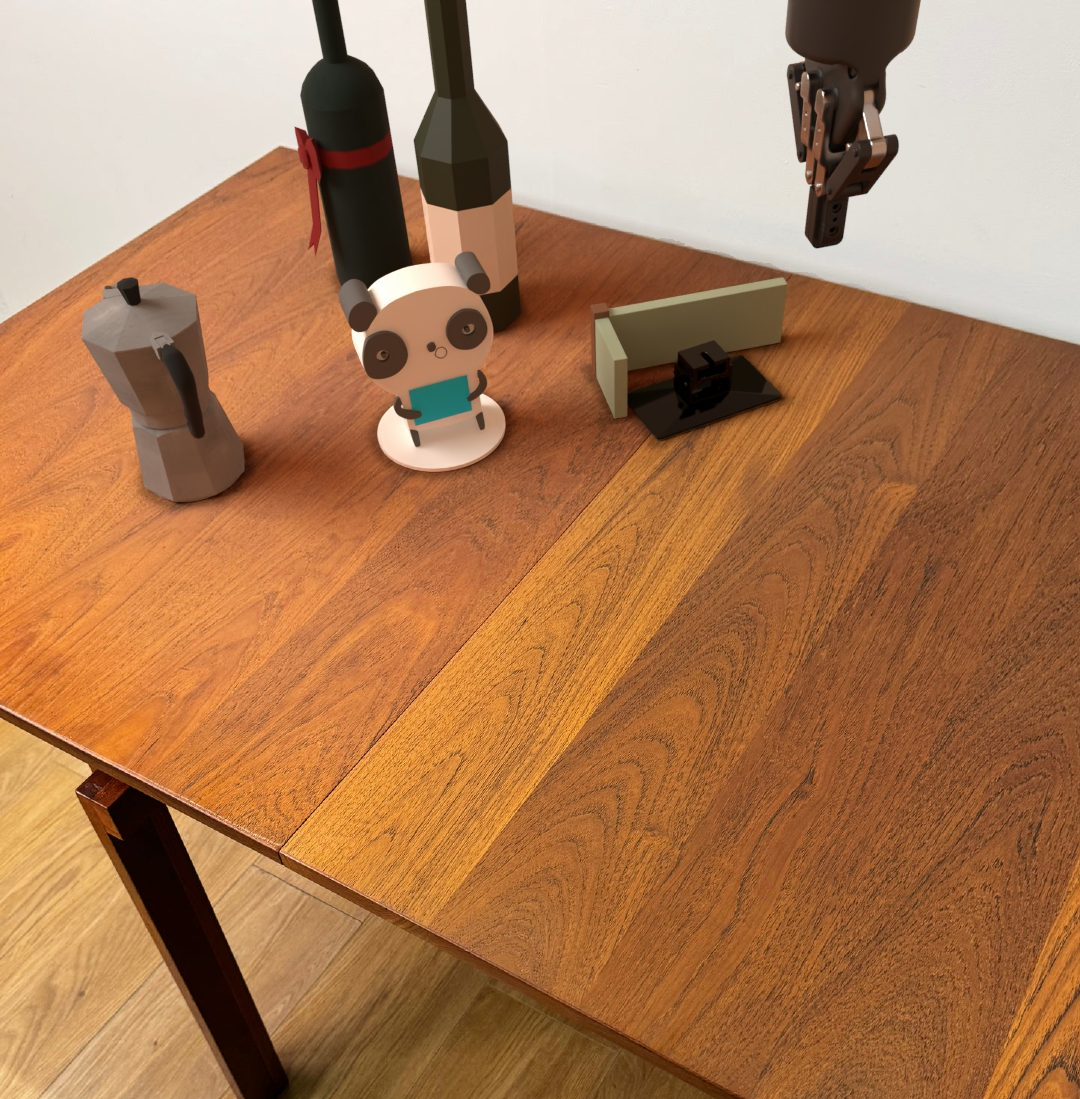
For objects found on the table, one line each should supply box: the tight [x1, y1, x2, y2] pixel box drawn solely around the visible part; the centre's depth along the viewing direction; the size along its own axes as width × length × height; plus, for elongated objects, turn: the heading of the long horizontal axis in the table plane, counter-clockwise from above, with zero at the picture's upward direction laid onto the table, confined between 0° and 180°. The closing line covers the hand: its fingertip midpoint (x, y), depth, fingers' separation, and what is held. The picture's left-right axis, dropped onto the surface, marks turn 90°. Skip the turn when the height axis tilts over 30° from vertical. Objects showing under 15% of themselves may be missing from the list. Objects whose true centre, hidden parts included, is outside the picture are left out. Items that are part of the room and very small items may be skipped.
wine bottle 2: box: [413, 0, 522, 334], centre depth 102 cm, size 8×8×30 cm
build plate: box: [627, 340, 783, 442], centre depth 102 cm, size 12×7×5 cm, turn 114°
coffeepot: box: [80, 276, 246, 503], centre depth 93 cm, size 15×9×18 cm, turn 33°
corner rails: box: [589, 276, 788, 419], centre depth 103 cm, size 18×8×7 cm, turn 103°
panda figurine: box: [338, 251, 507, 473], centre depth 97 cm, size 12×11×15 cm
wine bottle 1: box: [294, 0, 414, 290], centre depth 107 cm, size 8×10×30 cm
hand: (822, 240), depth 79 cm, fingers closed
